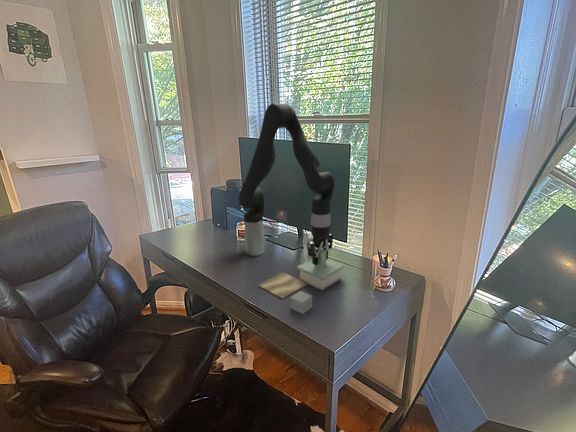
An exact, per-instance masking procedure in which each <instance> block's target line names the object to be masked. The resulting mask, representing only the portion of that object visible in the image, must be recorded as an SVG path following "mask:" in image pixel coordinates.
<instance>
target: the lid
mask: <svg viewBox="0 0 576 432" xmlns="http://www.w3.org/2000/svg"><path fill="white" fill-rule="evenodd" d="M315 254H316V251H315ZM344 267H345V266H344V265H343V264H340V263H338V262H335V261H333V260H330V259H328V260H326V250H324V249H323V248H321V250H320V252H319V254H318V265H314V264H313V263H312V259H311V260H309V261H307V262H305V261H304V262H302V263H301V264H299V265H297V266H296V269H297V271H299V272H300V271H302V272H304V273H307V274H309V275H311V276H314V277H316V278H318V279H320V280H325V279H326V278H328V277H330V276H331V275H333V274H335V273H336V272H338V271H340V270H341V271H342V270H344Z"/></svg>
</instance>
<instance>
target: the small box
mask: <svg viewBox="0 0 576 432" xmlns="http://www.w3.org/2000/svg"><path fill="white" fill-rule="evenodd" d="M311 308H313V295H311V294H309V293H307V292H305V291H302V290H298V292H297V293H296V292H295V294H294V295H292V296H291V297H290V309H291V310H293V311H295V312H297V313H299V314H302V315H304V314H306V313H307V312H308V311H309V310H310V309H311Z"/></svg>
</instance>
